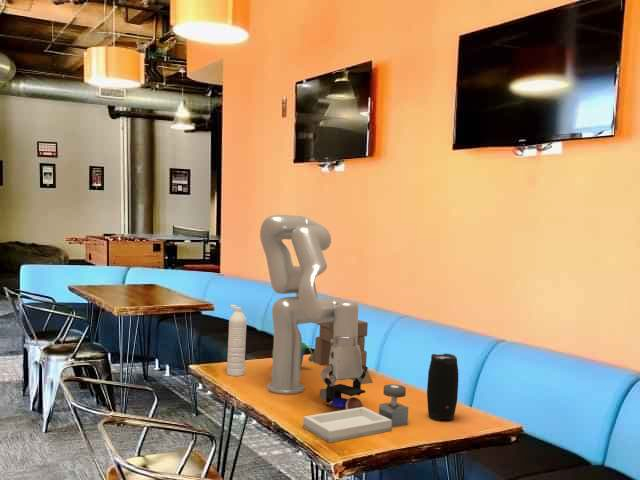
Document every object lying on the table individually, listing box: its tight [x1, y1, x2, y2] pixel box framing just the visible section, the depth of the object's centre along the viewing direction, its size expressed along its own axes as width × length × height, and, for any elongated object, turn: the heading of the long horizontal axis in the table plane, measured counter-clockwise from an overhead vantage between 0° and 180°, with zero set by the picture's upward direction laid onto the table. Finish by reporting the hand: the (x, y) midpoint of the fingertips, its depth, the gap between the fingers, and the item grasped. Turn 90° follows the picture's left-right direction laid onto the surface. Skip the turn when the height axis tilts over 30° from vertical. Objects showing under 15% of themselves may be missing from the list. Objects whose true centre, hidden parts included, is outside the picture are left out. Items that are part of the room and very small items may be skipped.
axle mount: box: [378, 401, 409, 428], centre depth 176 cm, size 6×6×5 cm
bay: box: [302, 406, 393, 444], centre depth 168 cm, size 13×21×3 cm, turn 123°
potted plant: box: [271, 342, 313, 370], centre depth 233 cm, size 16×10×10 cm
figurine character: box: [318, 383, 366, 410], centre depth 186 cm, size 7×8×15 cm
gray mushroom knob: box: [382, 383, 407, 408], centre depth 176 cm, size 6×6×7 cm
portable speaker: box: [426, 353, 459, 422], centre depth 182 cm, size 8×9×19 cm
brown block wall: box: [308, 319, 374, 385], centre depth 235 cm, size 40×9×23 cm, turn 32°
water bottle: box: [226, 304, 247, 377], centre depth 223 cm, size 9×6×25 cm
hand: (343, 396), depth 186 cm, fingers open, 9 cm apart
